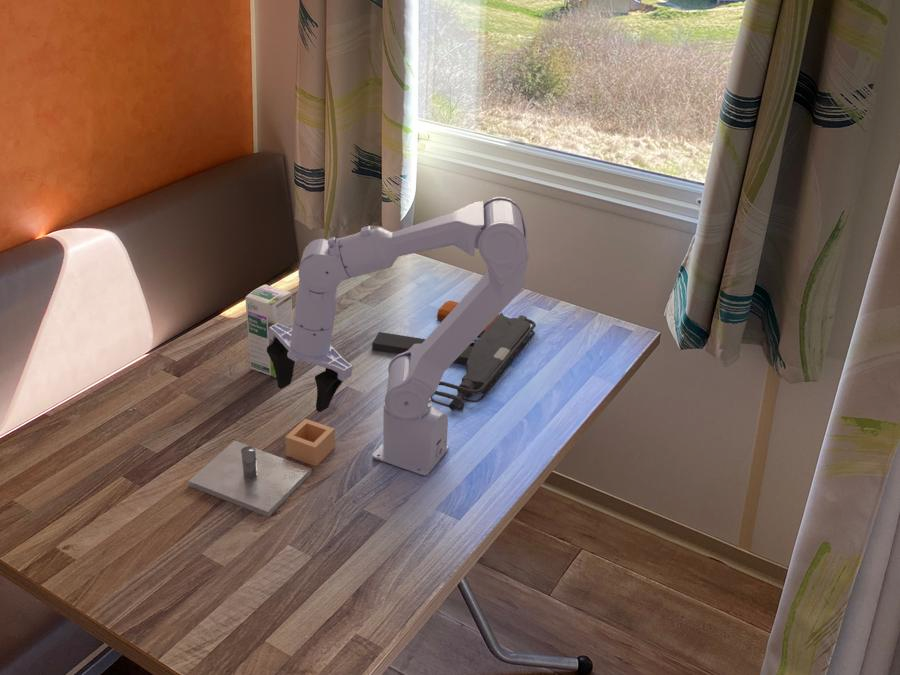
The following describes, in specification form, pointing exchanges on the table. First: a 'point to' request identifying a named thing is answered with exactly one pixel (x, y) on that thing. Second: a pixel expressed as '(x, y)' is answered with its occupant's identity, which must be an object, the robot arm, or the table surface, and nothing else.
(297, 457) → the ring
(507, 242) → the robot arm
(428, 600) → the table surface
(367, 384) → the table surface
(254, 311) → the syrup box
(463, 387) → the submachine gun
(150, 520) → the table surface
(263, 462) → the plate
